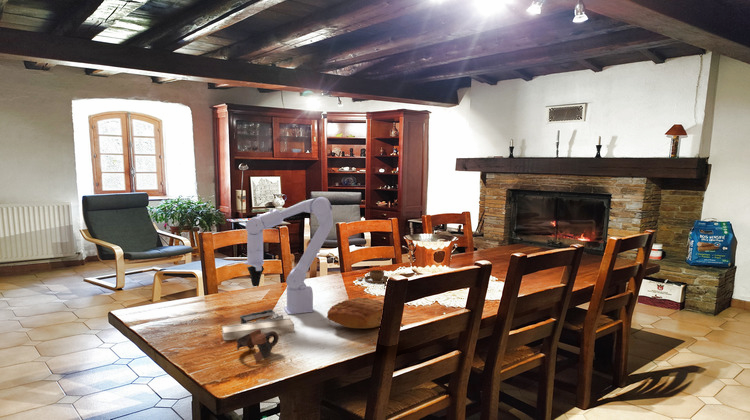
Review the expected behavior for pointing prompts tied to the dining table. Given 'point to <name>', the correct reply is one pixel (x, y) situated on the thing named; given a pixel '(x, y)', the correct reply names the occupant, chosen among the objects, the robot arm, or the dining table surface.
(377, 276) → the place setting
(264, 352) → the brown looped piece
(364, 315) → the bread loaf
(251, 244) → the robot arm
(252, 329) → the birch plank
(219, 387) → the dining table surface
